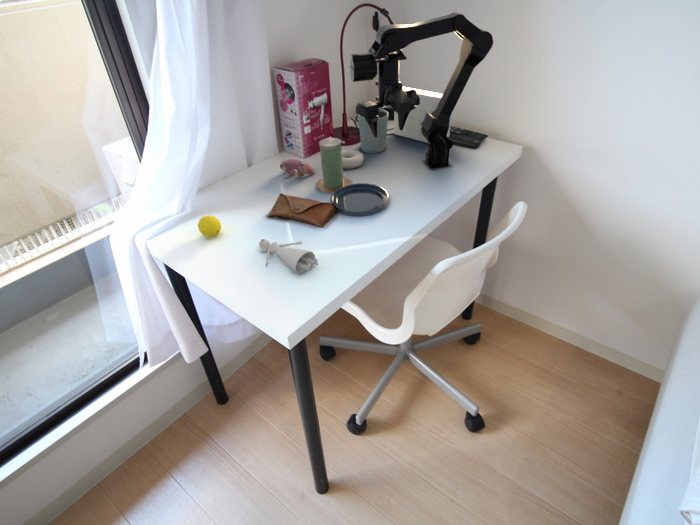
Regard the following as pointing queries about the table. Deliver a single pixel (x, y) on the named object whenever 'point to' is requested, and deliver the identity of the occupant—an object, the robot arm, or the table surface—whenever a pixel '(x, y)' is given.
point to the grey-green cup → (366, 136)
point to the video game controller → (296, 167)
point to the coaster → (323, 188)
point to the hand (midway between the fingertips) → (388, 133)
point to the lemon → (209, 226)
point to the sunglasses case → (303, 210)
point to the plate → (360, 199)
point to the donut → (351, 159)
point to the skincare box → (418, 115)
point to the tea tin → (331, 162)
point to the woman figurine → (290, 255)
